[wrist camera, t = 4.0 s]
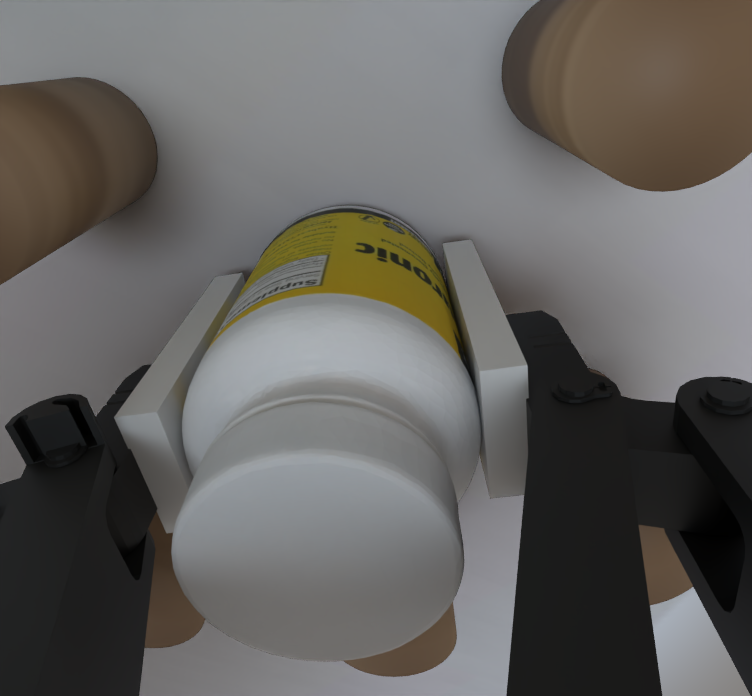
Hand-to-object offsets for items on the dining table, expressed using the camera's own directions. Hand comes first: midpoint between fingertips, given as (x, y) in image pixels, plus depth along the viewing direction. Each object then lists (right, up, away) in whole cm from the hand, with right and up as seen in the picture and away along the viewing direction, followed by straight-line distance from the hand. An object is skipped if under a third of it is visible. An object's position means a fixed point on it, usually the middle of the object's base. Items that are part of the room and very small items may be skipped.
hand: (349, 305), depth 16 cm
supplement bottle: (0, +1, +1) cm, 1 cm away
